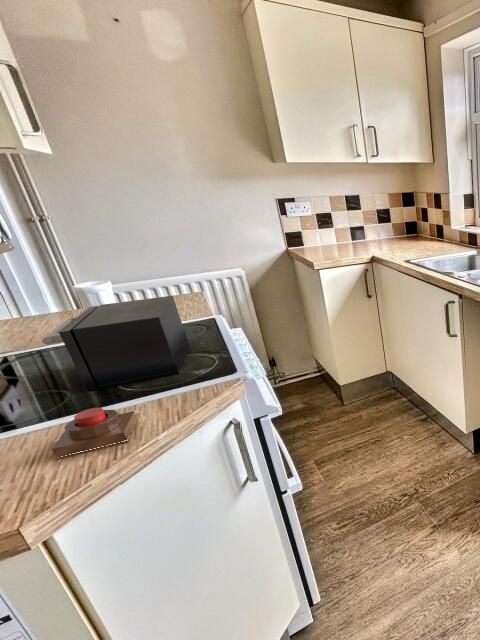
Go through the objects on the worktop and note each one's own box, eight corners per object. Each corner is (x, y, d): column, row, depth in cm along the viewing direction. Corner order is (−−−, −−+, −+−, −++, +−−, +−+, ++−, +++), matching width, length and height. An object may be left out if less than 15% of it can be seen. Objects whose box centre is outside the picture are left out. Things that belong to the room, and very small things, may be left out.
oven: (99, 390, 90) (72, 329, 85) (122, 357, 106) (100, 304, 101) (179, 374, 97) (158, 317, 91) (189, 346, 113) (172, 295, 107)
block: (57, 460, 68) (46, 439, 67) (74, 435, 75) (64, 416, 73) (128, 442, 72) (119, 423, 71) (138, 420, 79) (130, 402, 77)
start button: (75, 430, 70) (70, 421, 69) (82, 419, 73) (77, 411, 72) (103, 423, 71) (99, 414, 71) (109, 413, 74) (105, 405, 74)
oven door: (63, 397, 88) (32, 336, 82) (92, 362, 104) (68, 309, 98) (97, 390, 90) (69, 330, 85) (120, 357, 106) (98, 305, 101)
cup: (134, 324, 130) (117, 279, 124) (118, 334, 122) (98, 286, 117) (104, 327, 128) (85, 281, 123) (85, 336, 121) (64, 288, 115)
